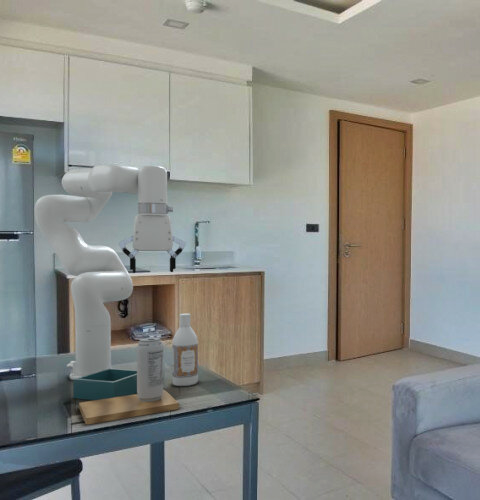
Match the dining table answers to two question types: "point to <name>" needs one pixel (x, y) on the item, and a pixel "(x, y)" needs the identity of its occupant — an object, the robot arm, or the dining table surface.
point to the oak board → (124, 407)
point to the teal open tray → (105, 384)
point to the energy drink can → (150, 369)
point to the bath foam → (185, 354)
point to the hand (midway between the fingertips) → (153, 272)
